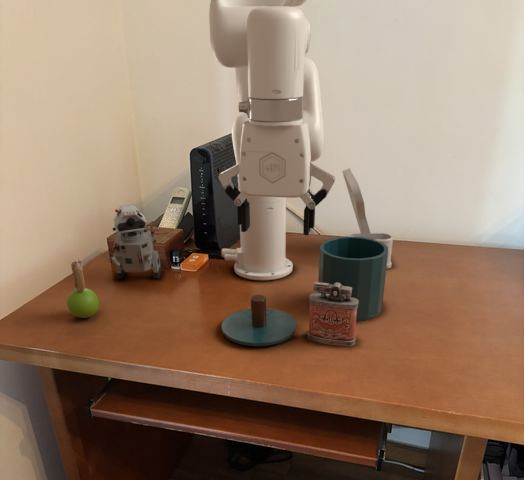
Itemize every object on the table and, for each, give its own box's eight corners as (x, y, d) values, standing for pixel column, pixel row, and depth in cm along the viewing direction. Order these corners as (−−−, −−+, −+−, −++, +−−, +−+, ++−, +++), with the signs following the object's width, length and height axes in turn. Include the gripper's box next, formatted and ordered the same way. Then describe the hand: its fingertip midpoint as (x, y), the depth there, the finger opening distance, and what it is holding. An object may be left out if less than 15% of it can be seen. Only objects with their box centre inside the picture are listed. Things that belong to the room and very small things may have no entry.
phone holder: (392, 269, 117) (402, 183, 108) (345, 269, 118) (351, 184, 108) (378, 241, 132) (386, 164, 123) (336, 242, 132) (341, 165, 123)
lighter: (357, 338, 92) (361, 283, 86) (353, 347, 89) (357, 291, 84) (310, 331, 94) (312, 277, 89) (305, 340, 91) (306, 285, 86)
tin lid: (213, 346, 90) (211, 312, 87) (231, 311, 101) (229, 280, 98) (291, 352, 88) (291, 317, 85) (300, 316, 99) (301, 284, 96)
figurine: (110, 291, 109) (97, 217, 102) (122, 269, 119) (111, 200, 112) (155, 290, 109) (146, 216, 102) (163, 268, 119) (156, 200, 112)
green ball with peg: (74, 328, 96) (60, 263, 90) (67, 313, 101) (54, 252, 95) (105, 321, 98) (94, 258, 92) (97, 307, 103) (85, 246, 97)
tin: (314, 318, 98) (317, 257, 92) (320, 291, 108) (322, 235, 102) (382, 323, 96) (388, 261, 90) (381, 295, 106) (387, 237, 100)
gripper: (208, 114, 74) (215, 236, 83) (336, 116, 71) (329, 242, 80) (222, 107, 81) (228, 221, 89) (340, 108, 78) (334, 226, 86)
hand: (276, 230), depth 85 cm, fingers open, 9 cm apart
